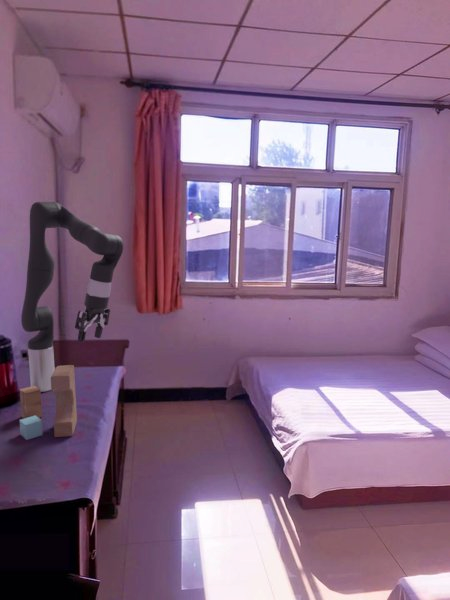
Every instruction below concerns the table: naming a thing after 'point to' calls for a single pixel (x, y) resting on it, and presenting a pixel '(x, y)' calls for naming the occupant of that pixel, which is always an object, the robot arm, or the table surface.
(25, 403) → the tan long block
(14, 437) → the table surface
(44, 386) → the robot arm
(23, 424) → the teal cube
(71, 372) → the decorative block
